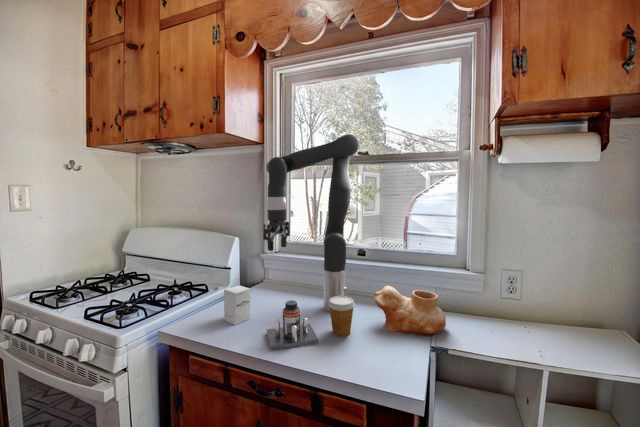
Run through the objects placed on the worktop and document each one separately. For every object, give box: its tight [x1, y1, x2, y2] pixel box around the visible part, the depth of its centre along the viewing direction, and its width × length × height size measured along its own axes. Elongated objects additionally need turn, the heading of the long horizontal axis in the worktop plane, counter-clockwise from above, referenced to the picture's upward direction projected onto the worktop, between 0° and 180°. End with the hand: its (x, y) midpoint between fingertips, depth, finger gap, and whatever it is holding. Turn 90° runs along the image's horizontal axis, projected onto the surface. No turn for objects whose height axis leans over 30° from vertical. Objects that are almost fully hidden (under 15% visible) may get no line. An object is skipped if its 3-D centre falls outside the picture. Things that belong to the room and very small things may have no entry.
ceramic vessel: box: [373, 285, 447, 337], centre depth 107 cm, size 14×26×15 cm, turn 79°
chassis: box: [265, 316, 319, 352], centre depth 99 cm, size 16×12×6 cm
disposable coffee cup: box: [328, 295, 355, 338], centre depth 103 cm, size 10×10×12 cm
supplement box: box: [223, 284, 251, 326], centre depth 114 cm, size 7×7×13 cm
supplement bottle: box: [282, 299, 301, 337], centre depth 99 cm, size 6×6×11 cm
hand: (277, 248), depth 115 cm, fingers open, 8 cm apart
